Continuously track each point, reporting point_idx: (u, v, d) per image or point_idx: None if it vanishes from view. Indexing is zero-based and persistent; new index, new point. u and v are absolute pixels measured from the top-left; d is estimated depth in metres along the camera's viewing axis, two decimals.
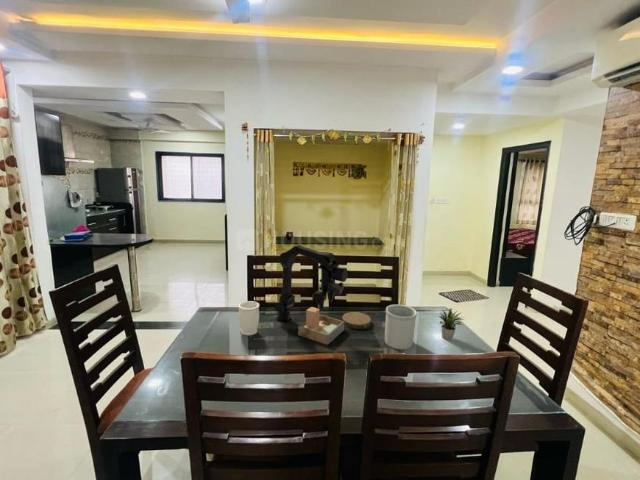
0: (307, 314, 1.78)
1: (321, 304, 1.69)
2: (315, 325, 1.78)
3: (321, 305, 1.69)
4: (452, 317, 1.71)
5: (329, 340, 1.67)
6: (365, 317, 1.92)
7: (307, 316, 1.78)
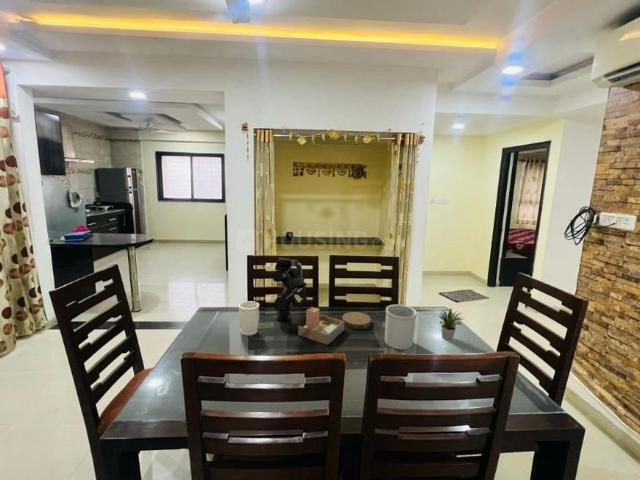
0: (307, 314, 1.78)
1: (294, 301, 1.77)
2: (315, 325, 1.78)
3: (295, 302, 1.78)
4: (452, 317, 1.71)
5: (329, 340, 1.67)
6: (365, 317, 1.92)
7: (307, 316, 1.78)
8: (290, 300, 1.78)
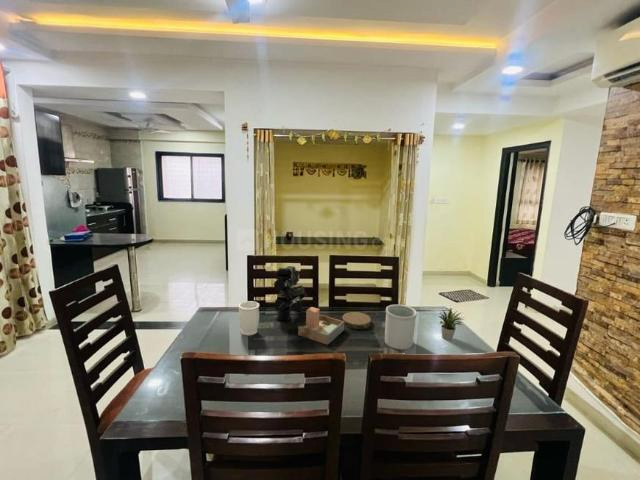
0: (307, 314, 1.78)
1: (298, 309, 1.81)
2: (315, 325, 1.78)
3: (298, 310, 1.82)
4: (452, 317, 1.71)
5: (329, 340, 1.67)
6: (365, 317, 1.92)
7: (307, 316, 1.78)
8: (293, 308, 1.82)
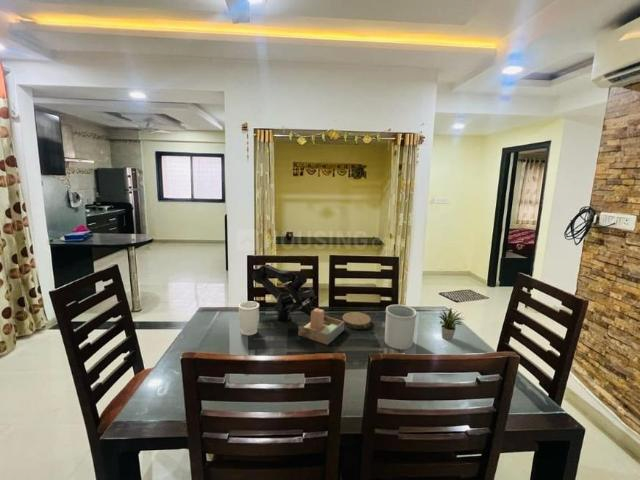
0: (312, 315, 1.76)
1: (308, 311, 1.78)
2: (320, 326, 1.77)
3: (308, 312, 1.79)
4: (452, 317, 1.71)
5: (329, 340, 1.67)
6: (365, 317, 1.92)
7: (312, 317, 1.77)
8: (303, 310, 1.79)
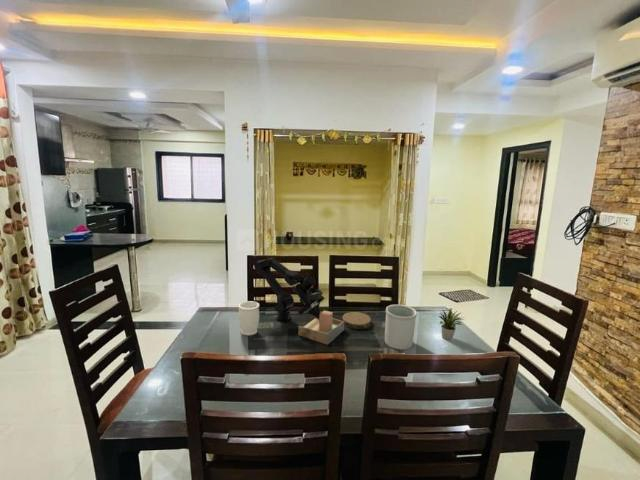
0: (320, 318, 1.74)
1: (316, 313, 1.76)
2: (328, 329, 1.74)
3: (317, 314, 1.76)
4: (452, 317, 1.71)
5: (329, 340, 1.67)
6: (365, 317, 1.92)
7: (320, 320, 1.74)
8: (312, 312, 1.77)
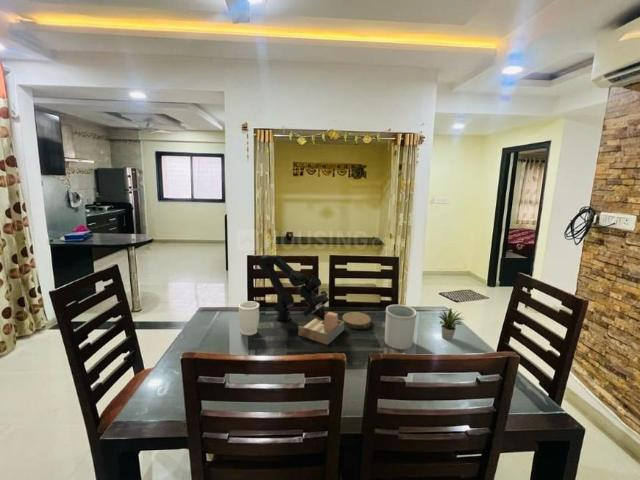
0: (325, 319, 1.73)
1: (321, 315, 1.75)
2: None
3: (322, 316, 1.75)
4: (452, 317, 1.70)
5: (329, 340, 1.67)
6: (365, 317, 1.92)
7: (325, 321, 1.73)
8: (317, 314, 1.76)
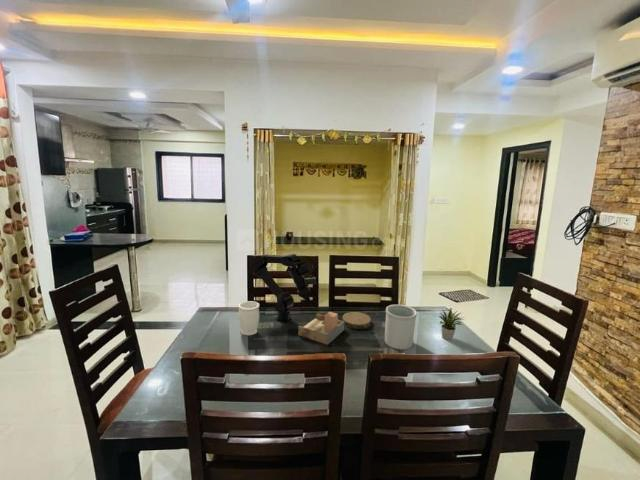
0: (325, 319, 1.73)
1: (308, 297, 1.81)
2: None
3: (308, 298, 1.81)
4: (452, 317, 1.71)
5: (329, 340, 1.67)
6: (365, 317, 1.92)
7: (325, 321, 1.73)
8: (303, 296, 1.81)
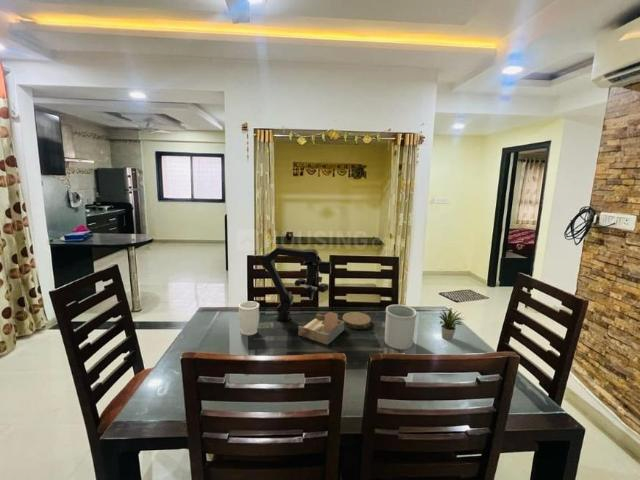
0: (325, 319, 1.73)
1: (313, 294, 1.86)
2: None
3: (313, 295, 1.87)
4: (452, 317, 1.71)
5: (329, 340, 1.67)
6: (365, 317, 1.92)
7: (325, 321, 1.73)
8: (312, 292, 1.84)
